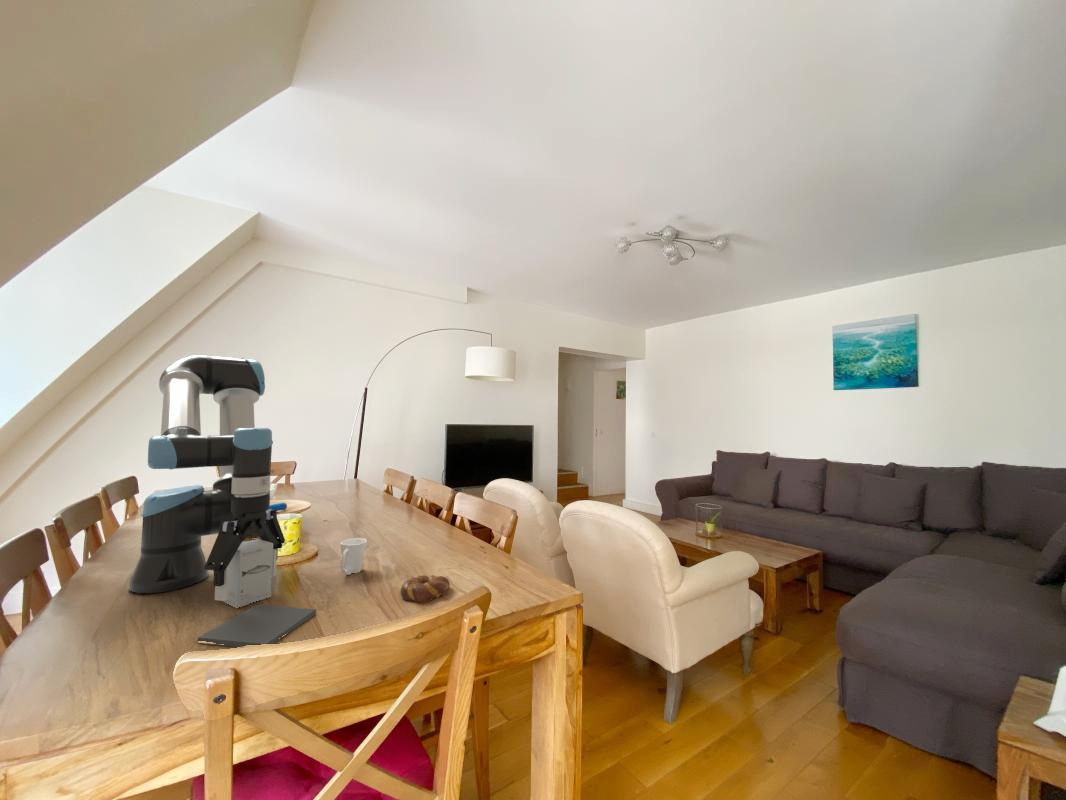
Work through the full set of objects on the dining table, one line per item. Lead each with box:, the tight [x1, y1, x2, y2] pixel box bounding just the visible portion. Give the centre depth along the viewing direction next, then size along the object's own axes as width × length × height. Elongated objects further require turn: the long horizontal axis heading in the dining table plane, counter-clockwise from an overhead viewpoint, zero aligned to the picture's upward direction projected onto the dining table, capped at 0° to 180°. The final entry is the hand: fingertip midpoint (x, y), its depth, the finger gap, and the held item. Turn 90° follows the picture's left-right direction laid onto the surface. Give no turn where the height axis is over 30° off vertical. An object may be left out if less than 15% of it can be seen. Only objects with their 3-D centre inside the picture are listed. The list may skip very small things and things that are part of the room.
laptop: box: [197, 604, 317, 648], centre depth 84 cm, size 14×14×1 cm
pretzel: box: [399, 575, 451, 603], centre depth 102 cm, size 12×11×4 cm
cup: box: [339, 537, 368, 576], centre depth 114 cm, size 7×10×8 cm
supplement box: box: [222, 538, 273, 609], centre depth 97 cm, size 7×7×13 cm
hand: (247, 587), depth 97 cm, fingers open, 13 cm apart
